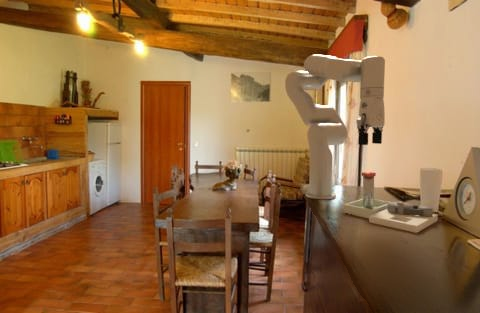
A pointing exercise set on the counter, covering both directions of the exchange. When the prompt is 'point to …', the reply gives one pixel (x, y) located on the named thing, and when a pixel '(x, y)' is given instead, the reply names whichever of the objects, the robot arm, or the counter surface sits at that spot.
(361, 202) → the tray
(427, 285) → the counter surface
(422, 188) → the drinking glass
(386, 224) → the pulley board
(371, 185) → the lock pin
